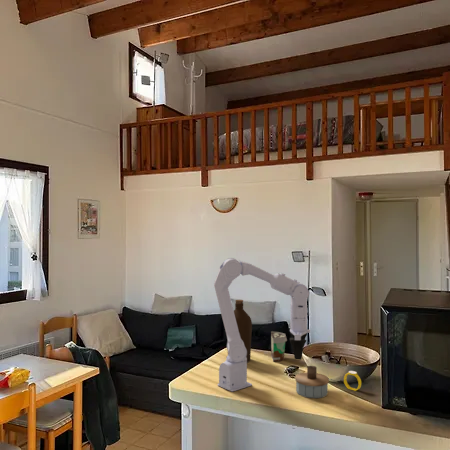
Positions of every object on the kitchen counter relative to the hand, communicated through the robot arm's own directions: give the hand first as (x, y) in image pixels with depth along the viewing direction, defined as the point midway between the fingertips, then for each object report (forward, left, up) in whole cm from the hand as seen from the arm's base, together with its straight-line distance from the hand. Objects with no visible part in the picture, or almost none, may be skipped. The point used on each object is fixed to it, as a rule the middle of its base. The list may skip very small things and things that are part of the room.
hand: (298, 355), depth 151 cm
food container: (+17, +25, -10) cm, 32 cm away
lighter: (+13, -4, -10) cm, 17 cm away
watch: (+10, -15, -10) cm, 21 cm away
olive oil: (+2, +34, -10) cm, 36 cm away
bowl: (-3, -8, -10) cm, 13 cm away
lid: (-3, -8, -6) cm, 10 cm away
